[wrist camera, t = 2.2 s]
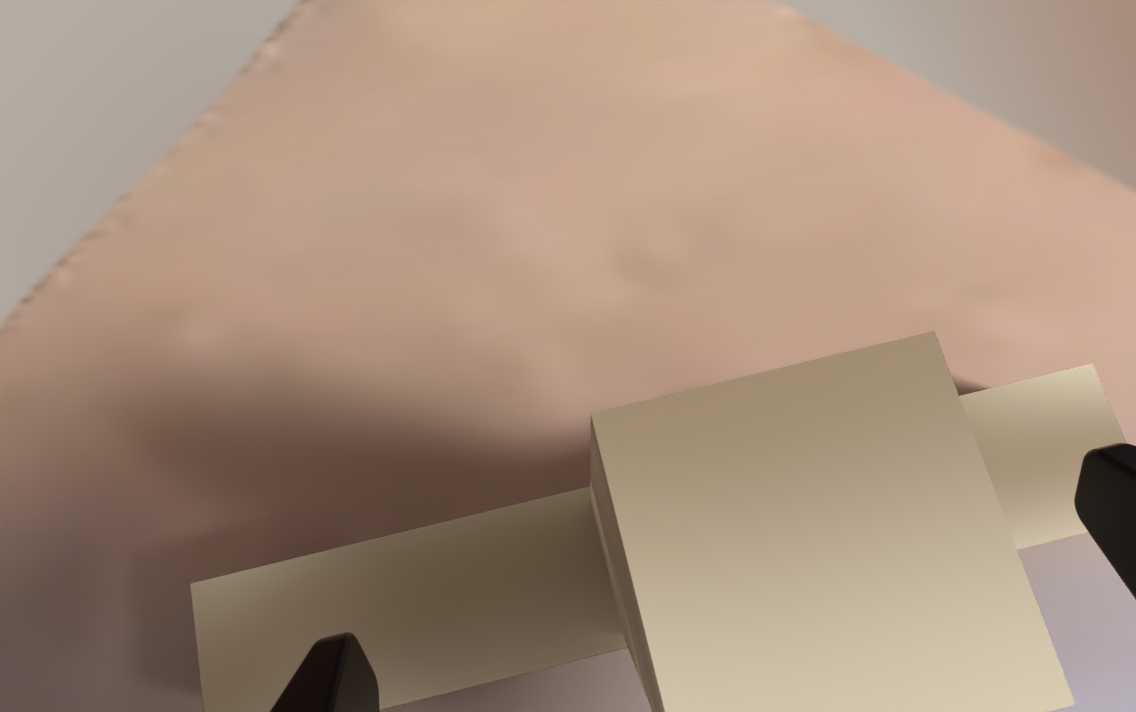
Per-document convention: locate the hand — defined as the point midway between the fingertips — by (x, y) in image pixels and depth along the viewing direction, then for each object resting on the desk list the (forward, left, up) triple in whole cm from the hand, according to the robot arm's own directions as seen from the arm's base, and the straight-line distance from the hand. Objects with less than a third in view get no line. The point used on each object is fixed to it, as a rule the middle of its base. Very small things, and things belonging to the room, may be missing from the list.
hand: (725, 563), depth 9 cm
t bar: (0, 0, -8) cm, 8 cm away
